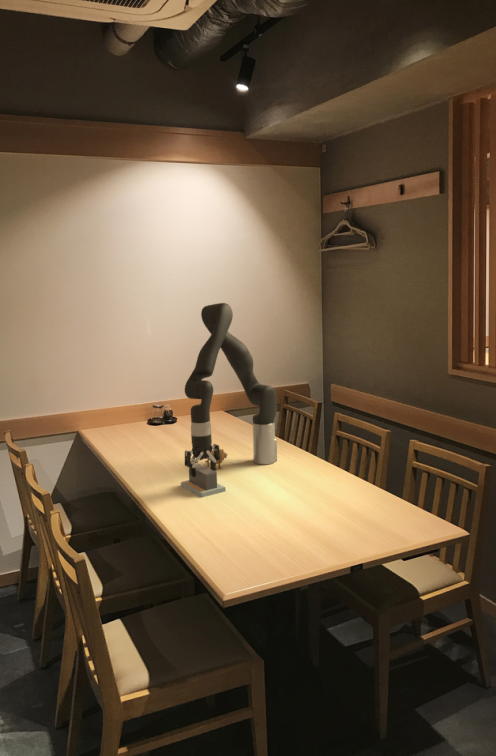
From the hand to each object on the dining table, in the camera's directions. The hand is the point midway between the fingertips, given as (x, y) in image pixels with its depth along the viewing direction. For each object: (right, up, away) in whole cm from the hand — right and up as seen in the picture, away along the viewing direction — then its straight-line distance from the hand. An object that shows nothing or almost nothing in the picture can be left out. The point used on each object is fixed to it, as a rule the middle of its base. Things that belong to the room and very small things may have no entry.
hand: (203, 474), depth 244 cm
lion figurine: (+3, -1, +26) cm, 26 cm away
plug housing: (0, -4, +1) cm, 4 cm away
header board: (0, -6, +1) cm, 6 cm away
